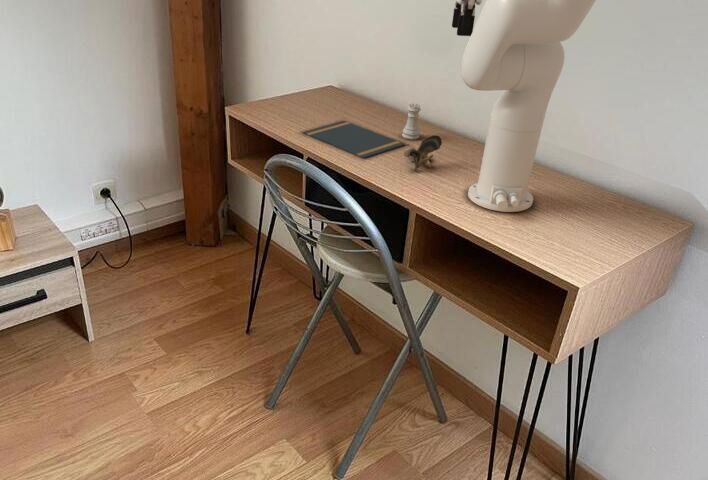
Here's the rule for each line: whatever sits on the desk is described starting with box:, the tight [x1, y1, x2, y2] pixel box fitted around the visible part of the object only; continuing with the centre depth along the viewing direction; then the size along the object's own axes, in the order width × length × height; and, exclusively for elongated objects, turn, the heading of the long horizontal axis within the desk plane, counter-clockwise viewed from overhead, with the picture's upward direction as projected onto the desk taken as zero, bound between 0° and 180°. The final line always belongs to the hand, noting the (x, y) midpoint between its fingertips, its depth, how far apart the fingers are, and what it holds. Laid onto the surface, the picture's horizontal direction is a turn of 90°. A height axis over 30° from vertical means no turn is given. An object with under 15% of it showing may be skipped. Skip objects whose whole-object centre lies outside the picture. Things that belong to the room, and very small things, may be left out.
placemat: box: [302, 120, 406, 159], centre depth 155 cm, size 21×14×1 cm, turn 41°
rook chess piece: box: [401, 103, 422, 141], centre depth 155 cm, size 4×4×8 cm
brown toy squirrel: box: [403, 134, 443, 172], centre depth 141 cm, size 8×7×9 cm
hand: (461, 31), depth 141 cm, fingers open, 9 cm apart
